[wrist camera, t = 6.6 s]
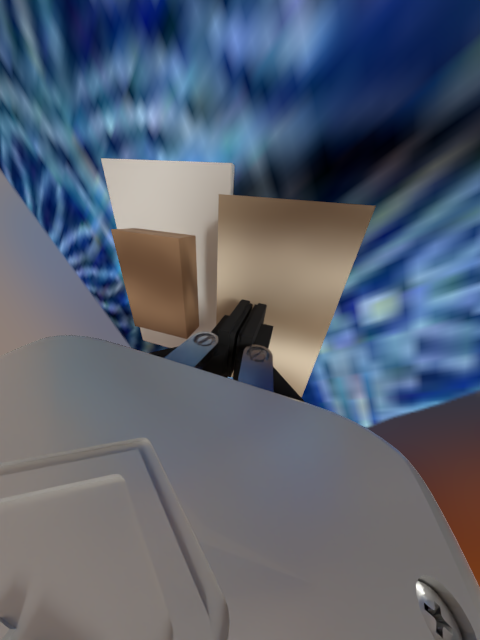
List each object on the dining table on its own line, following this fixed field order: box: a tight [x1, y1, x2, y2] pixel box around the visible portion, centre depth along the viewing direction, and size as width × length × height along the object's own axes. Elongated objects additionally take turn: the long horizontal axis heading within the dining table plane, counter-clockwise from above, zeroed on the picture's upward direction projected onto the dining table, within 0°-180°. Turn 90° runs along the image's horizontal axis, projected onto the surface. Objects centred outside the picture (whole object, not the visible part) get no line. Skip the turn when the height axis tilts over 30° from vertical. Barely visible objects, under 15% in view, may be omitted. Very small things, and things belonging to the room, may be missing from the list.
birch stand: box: [216, 194, 376, 397], centre depth 15 cm, size 14×8×4 cm, turn 175°
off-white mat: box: [101, 158, 235, 348], centre depth 18 cm, size 18×11×1 cm, turn 175°
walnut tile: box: [111, 228, 199, 339], centre depth 17 cm, size 9×6×2 cm, turn 175°
